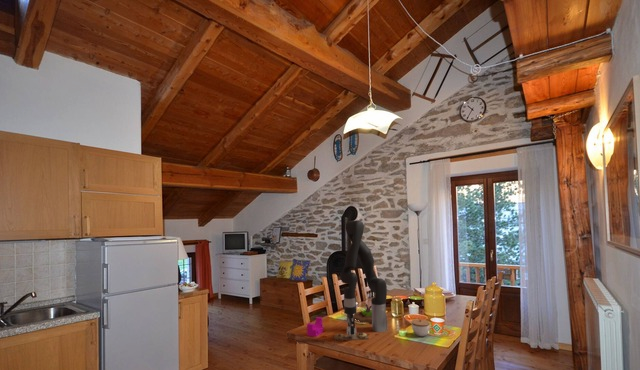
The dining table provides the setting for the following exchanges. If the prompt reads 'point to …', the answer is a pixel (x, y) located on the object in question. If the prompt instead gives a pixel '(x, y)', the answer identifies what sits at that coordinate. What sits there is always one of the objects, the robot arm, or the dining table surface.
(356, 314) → the plant
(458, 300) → the dining table surface
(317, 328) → the toy block
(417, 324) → the lidded jar
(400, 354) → the dining table surface
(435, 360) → the dining table surface
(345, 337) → the gear board
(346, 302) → the robot arm
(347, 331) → the idler gear
